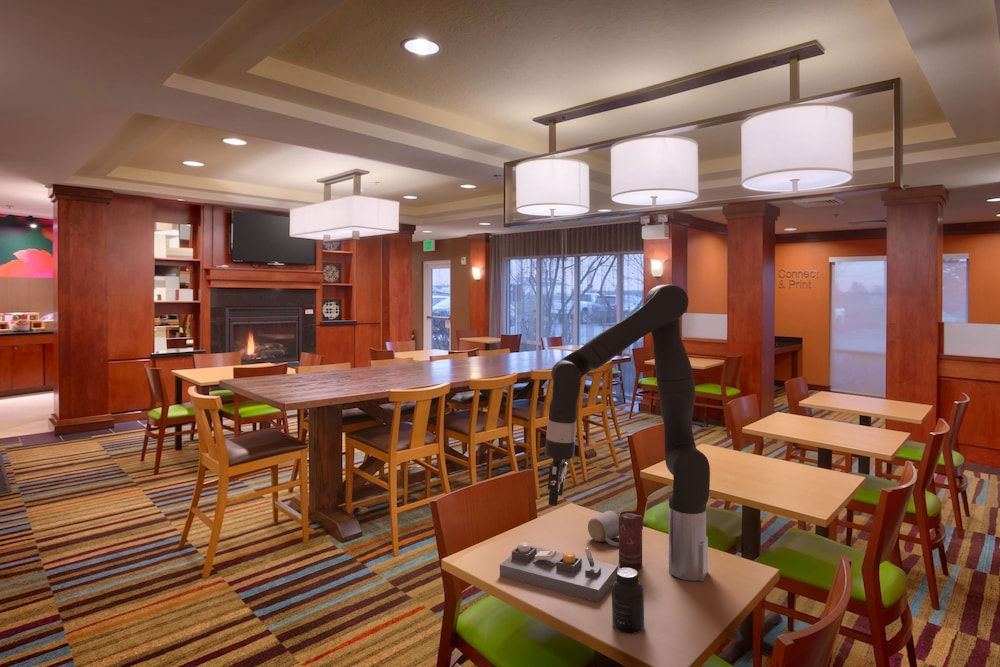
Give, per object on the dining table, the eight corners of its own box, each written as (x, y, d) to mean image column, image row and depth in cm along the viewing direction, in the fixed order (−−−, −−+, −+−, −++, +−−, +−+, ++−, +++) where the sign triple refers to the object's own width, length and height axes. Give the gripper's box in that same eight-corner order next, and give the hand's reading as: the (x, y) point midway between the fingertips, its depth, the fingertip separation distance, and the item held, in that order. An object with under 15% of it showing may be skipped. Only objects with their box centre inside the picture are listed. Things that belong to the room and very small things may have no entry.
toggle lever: (595, 565, 140) (589, 546, 141) (594, 567, 139) (587, 548, 140) (591, 566, 141) (585, 547, 141) (589, 568, 140) (583, 549, 140)
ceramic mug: (585, 538, 168) (585, 513, 168) (604, 531, 173) (604, 507, 173) (612, 551, 160) (612, 524, 160) (631, 543, 165) (631, 517, 164)
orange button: (577, 560, 144) (577, 554, 144) (572, 566, 141) (572, 559, 141) (565, 558, 145) (565, 551, 145) (560, 563, 143) (560, 556, 142)
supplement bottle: (621, 613, 127) (620, 561, 126) (649, 624, 123) (649, 570, 122) (606, 627, 122) (606, 573, 121) (635, 638, 117) (635, 582, 117)
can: (643, 571, 147) (643, 519, 146) (619, 569, 148) (618, 517, 147) (642, 561, 153) (642, 511, 152) (618, 559, 154) (618, 509, 153)
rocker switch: (556, 554, 147) (555, 550, 147) (551, 559, 144) (550, 555, 144) (540, 554, 149) (539, 550, 149) (535, 559, 146) (534, 555, 146)
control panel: (617, 577, 144) (617, 558, 144) (598, 602, 132) (598, 581, 132) (525, 555, 158) (524, 537, 157) (499, 575, 146) (499, 557, 145)
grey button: (532, 550, 150) (532, 543, 150) (526, 555, 147) (526, 548, 147) (521, 548, 152) (521, 541, 152) (516, 552, 149) (515, 545, 149)
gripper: (571, 446, 136) (566, 511, 137) (578, 434, 150) (573, 493, 151) (541, 441, 138) (536, 506, 139) (551, 430, 152) (546, 489, 153)
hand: (555, 499), depth 145 cm, fingers open, 8 cm apart
